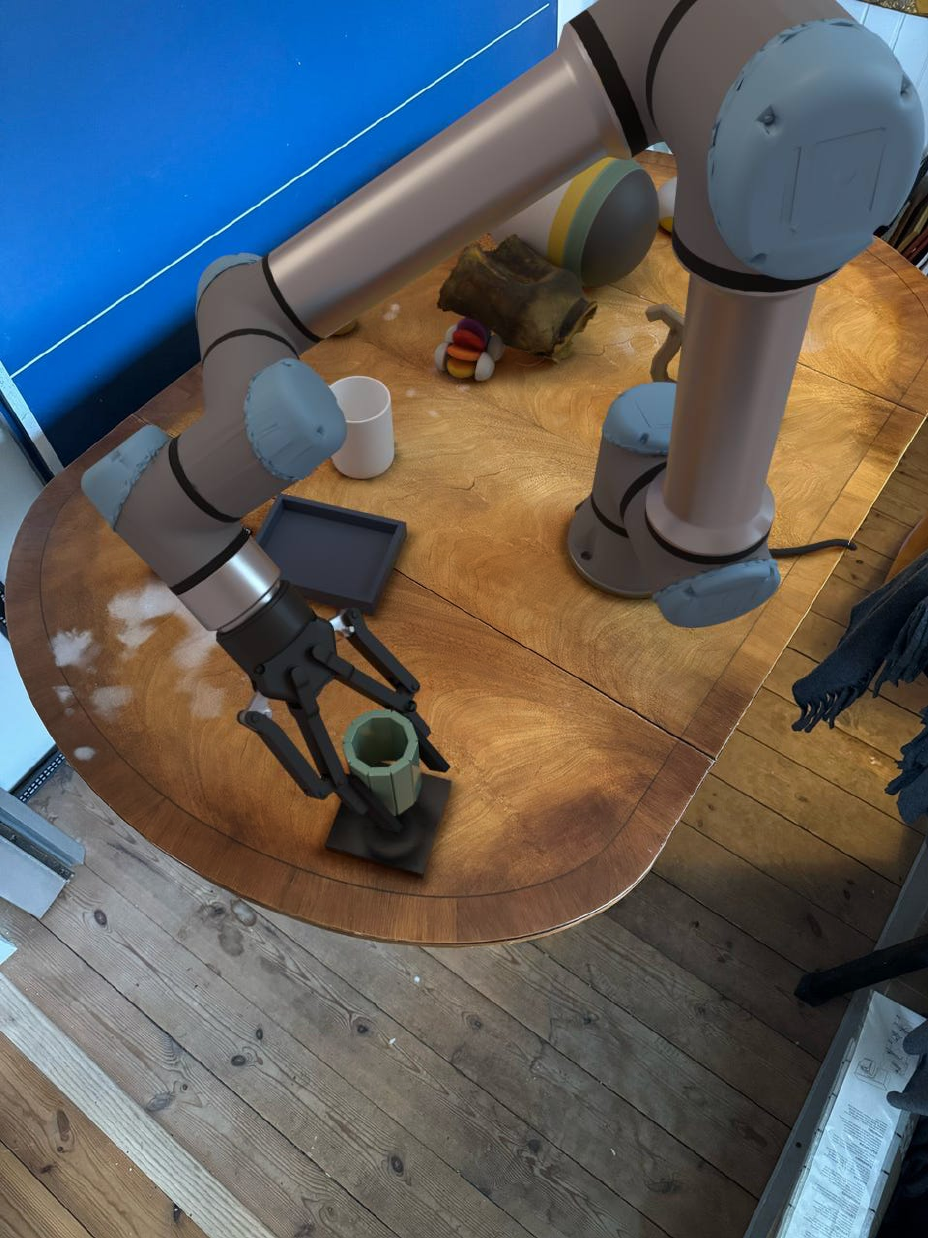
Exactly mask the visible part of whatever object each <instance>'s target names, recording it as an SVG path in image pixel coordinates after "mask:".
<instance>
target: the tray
mask: <svg viewBox="0 0 928 1238" xmlns="http://www.w3.org/2000/svg"><path fill="white" fill-rule="evenodd" d="M275 497H276V498H275V499H274V501H273V503H272V504H271V507H270V509H268V512H267V514H266V516H265V518H264V519H263V521H262V524H261V525H260V527H259V529H258V531H257V533H256V534H255V536H254V538H253V539H254V540H255V541H256V543H257V544H258V545H259V546H260V547H261V548H262V550H263V551H264V552H265V553H266V554H267V555H268V556H269V558H270V559H271V560H272V561H273V562H274V563H275V564H276V566H277V567H278V568H279V569H280V577H279V580H280V579H284V580H288V581H290V583H291V584H292V585H293V586H294V587H295V588H296V590H297V591H298V592H299V593H300V594H301V596H302V597H303V598H304V599H305V600H306V601H311V602H315V603H319V604H322V605H327V606H331V607H335V608H338V609H347V608H357V609H359V611H360V613H361V614H363V615H367V616H371V617H374V616H375V614H376V611H377V609H378V606H379V605H380V602H381V600H382V597H383V595H384V592H385V590H386V587H387V585H388V582H389V580H390V578H391V575H392V574H393V571H394V568H395V565H396V563H397V561H398V558H399V556H400V553H401V551H402V549H403V546H404V545H405V542H406V540H407V537H408V528H407V521H404V520H400V519H399V520H398V519H395V518H391V517H386V516H383V515H378V514H374V513H369V512H364V511H361V510H356V509H352V508H347V507H343V506H339V505H335V504H329V503H326V502H321V501H318V500H317V501H316V500H312V499H308V498H305V497H301V496H300V497H299V496H296V495H292V494H291V495H290V494H287V493H283V492H281V493H280V494H278V495H276V496H275Z"/></svg>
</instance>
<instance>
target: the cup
mask: <svg viewBox="0 0 928 1238" xmlns="http://www.w3.org/2000/svg"><path fill="white" fill-rule="evenodd" d="M326 384H327V383H326ZM327 385H328V386H329V388H330V389H331V390H332V392H333V393H334V395H335V397H336V399H337V404H338V406H339V408H340V409H341V410H342V412H343V413H344V416H345V420H346V426H347V435H346V440H345V442H344V444H343V446H342V447H341V449H340V450H339V451H337V452H336V453H335V454H333V455H332V456H331V457H330V458H331V461H332V463H333V466H334V467H335V468H336V469H337V470H338V471H339V472H340V473H341V474H343V475H345V476H347V477H348V478H352V479H358V480H366V479H372V478H375V477H378V476H381V475H382V474H383V473H385V472H386V471H387V470H388V469H389V468H390V467H391V465H392V463H393V461H394V458H395V440H394V439H395V438H394V424H393V412H392V399H391V393H390V390H389V389H388V387H387V386H386V385H385V384H383V382H381V381H380V380H377V379H375V378H373V377H370V376H365V375H354V376H347V377H344V378H341V379H338V380H336V381H334V382H333V383H332V384H331V385H329V384H327Z"/></svg>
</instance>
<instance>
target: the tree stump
mask: <svg viewBox="0 0 928 1238" xmlns="http://www.w3.org/2000/svg"><path fill="white" fill-rule="evenodd" d="M441 284H442V286H441V287H440V288H439V291H438V294H439V296H438V299H437V302H436V305H437V307H436V308H437V309H439V310H441V311H442V313H445V312H452V313H454V314H456V315H459V316H461V317H464V318H465V317H467V318H470V319H473V320H475V321H477V322H479V323H480V324H482V325H483V326H485V327H487V328H488V329H490V330H491V332H492V333H496V334H497V335H498V336H500V337H501V340H502V343H503V344H504V347H508V348H511V349H513V350H517V351H521V352H527V353H529V355H530V356H531V357H534V358H548V359H551V361H553V363H554V364H556V365H559V363H560V362H561V361H562V360H565V359H566V358H567V357H568V356H569V355H570V354H571V353H572V349H571V348H572V345H573V344H574V343H573V342H572V339H573V337H574V335H577V334H580V333H583V332H585V328H587V326H588V323H589V321H590V320H594V319H595V315H596V314H597V311H598V309H599V301H597V300H594V301H592V300H591V301H588V300H587V299H586V297H585V293H584V292H585V291H584V289H583V286H581V284H580V282H579V280H578V278H577V276H576V275H575V273H573V272H572V271H571V270H568V269H561V268H558V267H556V266H554V265H553V264H551V263H549V262H548V261H546V260H545V259H543V258H542V257H540V256H539V255H537V254H536V253H534V252H533V251H532V250H530V249H529V248H528V247H527V246H525V245H524V244H523V243H522V242H521V240H520V238H518V237H517V235H515V234H513V235H510V236H509V237H508V236H507V237H506V238H505V239H504V240H503V241H502V242H500V244H499V246H497V247H496V248H495V249H492V250H491V249H490V250H484V249H483V247H482V246H481V243H478V242H476V243H473V245H469V246H467V247H466V248H464V249H463V250H462V251H461V253H460V254H459V255H458V259H457V264H456V266H455V267H453V268H451V269H450V273H449V276H448V277H447V278H446V279H445V280H444V282H442V283H441Z"/></svg>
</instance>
